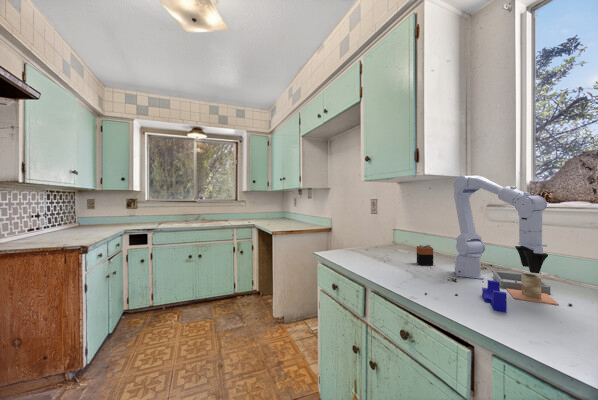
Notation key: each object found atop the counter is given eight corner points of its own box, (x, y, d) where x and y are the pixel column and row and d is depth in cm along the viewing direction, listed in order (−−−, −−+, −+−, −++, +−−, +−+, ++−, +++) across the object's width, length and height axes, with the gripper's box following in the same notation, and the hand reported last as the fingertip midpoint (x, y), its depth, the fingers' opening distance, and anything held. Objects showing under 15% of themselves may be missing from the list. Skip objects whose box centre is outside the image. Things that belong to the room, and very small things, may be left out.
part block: (525, 296, 82) (525, 276, 82) (521, 292, 86) (521, 272, 86) (541, 299, 80) (541, 278, 80) (536, 294, 84) (536, 274, 84)
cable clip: (482, 295, 85) (482, 279, 85) (498, 298, 83) (498, 281, 83) (487, 309, 75) (487, 290, 75) (506, 313, 73) (506, 293, 73)
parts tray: (501, 287, 91) (501, 281, 91) (493, 276, 103) (493, 271, 103) (550, 294, 85) (550, 287, 85) (535, 281, 97) (535, 275, 97)
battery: (433, 265, 121) (433, 246, 120) (419, 265, 121) (419, 246, 121) (430, 263, 125) (429, 244, 125) (416, 263, 126) (416, 244, 126)
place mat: (513, 298, 82) (513, 297, 82) (506, 289, 90) (506, 288, 90) (558, 305, 77) (558, 304, 77) (546, 294, 84) (546, 293, 84)
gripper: (556, 234, 74) (556, 277, 75) (537, 228, 87) (537, 265, 87) (525, 233, 78) (525, 274, 78) (512, 227, 91) (512, 263, 91)
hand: (530, 269), depth 83 cm, fingers open, 7 cm apart
